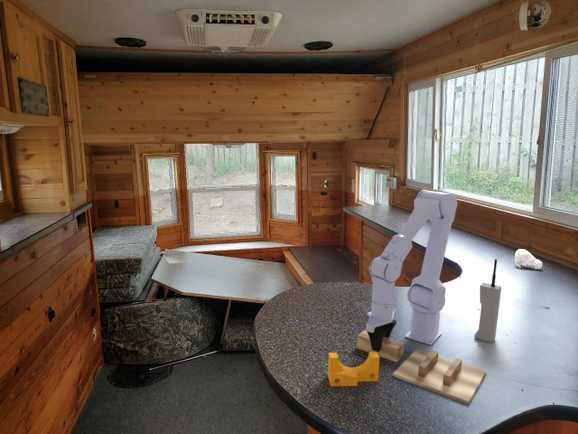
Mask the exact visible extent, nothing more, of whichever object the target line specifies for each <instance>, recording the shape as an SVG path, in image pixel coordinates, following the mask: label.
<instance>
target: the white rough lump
mask: <svg viewBox="0 0 578 434" xmlns="http://www.w3.org/2000/svg"><path fill="white" fill-rule="evenodd" d="M514 262H515V265H516V267H519V269H522V266H531V267H534V270H537V269H538V270H540V269H541V268H542V267H543V262H542V261H541V260H540V259H537V258H536V257H535V256H534V255H532V253H531V252H529V251H528V250H527V249H523V248H522V249H521V248H519V249H517V250H516V251H515V254H514ZM521 265H522V266H521Z"/></svg>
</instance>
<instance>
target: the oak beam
mask: <svg viewBox="0 0 578 434" xmlns="http://www.w3.org/2000/svg"><path fill="white" fill-rule="evenodd" d="M356 336H357V337H356V349H358V350H361V351H364V352H367V353H369V352H377V351H374V350H372V347H371V342H370V338H369V335H368V333H367V331H366V329H364V330H363V331H361V332H360V333H358V334H357V335H356ZM404 345H405V344H404V342H402V341H399V340H396V339H392V338H386V337H383V340H382V345H381V349H380V351H379V352H377V354H378V355H379V357H380V358H383V359H386V360H388V361H391V362H392V361H393V362H395V363H397V362H399V361H400V360H401V359H402V358H403V357H404Z"/></svg>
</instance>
